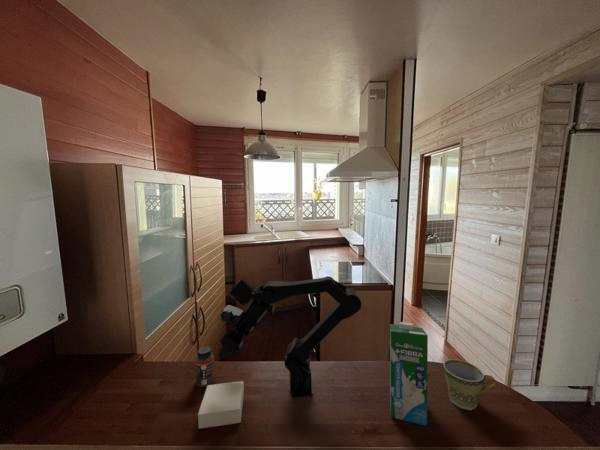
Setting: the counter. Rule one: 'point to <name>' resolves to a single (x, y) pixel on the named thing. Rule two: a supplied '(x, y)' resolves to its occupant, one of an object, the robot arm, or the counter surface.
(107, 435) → the counter surface
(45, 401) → the counter surface
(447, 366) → the ceramic cup
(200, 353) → the supplement bottle
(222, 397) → the plinth
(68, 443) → the counter surface
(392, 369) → the milk carton
